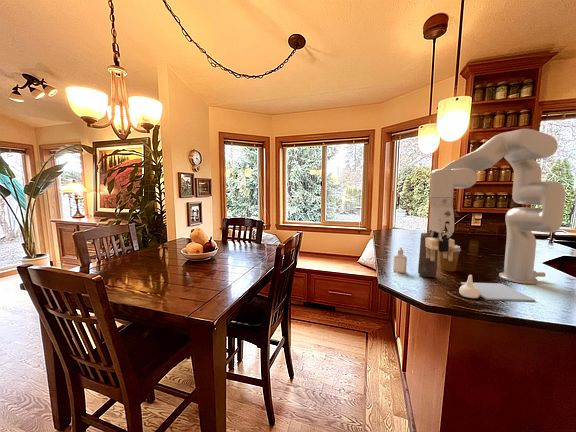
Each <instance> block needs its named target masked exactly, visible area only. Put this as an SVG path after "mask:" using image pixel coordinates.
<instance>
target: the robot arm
mask: <svg viewBox="0 0 576 432" xmlns="http://www.w3.org/2000/svg"><path fill="white" fill-rule="evenodd" d="M558 144H559V143H558V141H557V139H556V138H555V137H554V136H553V135H551V134H548V133H546V132H542V131H540V130H539V131H538V130H535V129H532V128H519V129H515V130H511V131H504V132H500V133H498V134H496V135H494V136H493V137H491V138H490V139H489V140H487V141H486V142H485V143H483V144H482V145H481V146H480V147H478V148H477V149H475V150H474V151H472V152H470V153H468V154H467V153H466V154H465V155H463V156H461V157H459V158H457V159H455V160H452V161H451V162H449V163H448V164H446V165H444V166H443V167H442V168H439V169H434V170H432V171H431V173H430V180H429V181H430V184H429V185H430V187H429V206H430V209H429V219H428V220H429V221H428V226H429V227H428V228H429V230H430V233H431V237H432V238H438V237H439V238H440V241H439V250H438V252H439V251H440V252H448V248H449V241H450V239H451V236H453V234H454V232H455V215H454V214H455V213H454V211H455V210H454V207H453V206H454V192H455V191H454V189H457V190H458V189H459V190H460V189H469V188H472V186H474V185H475V184H476V182H477V181H478V174H477V172H480V171H484V170H486V169H490V168H491V167H493V166H494V165H496V164H497V163H498V162H499V161H501V160H502V159H503V158H504V159H505V160H506V162H508V164H509V165H510V166H511V168H512V169H513V170H512V171H513V181H512V182H513V183H512V194H511V195H512V196H511V197H512V200H513V202H514V203H516V204H519V205H533V206H537V205H538V206H542V208H540V207H522V206H521V207H520V206H519V207H513V208H510V209H509V210H507V212H506V213H505V216H504V217H505V219H504V220H505V225H506V242H505V243H506V244H505V252H504V264H503V265H504V266H503V271H502V272H499V273H498V277H499V278H500V279H502V280H505V281H509V282H513V283H518V284H524V285H526V284H527V285H535V284H536V285H537V284H538V281H539V279H538V278H540V277H543V278H545V277H547V275H546V272H543V271H541V272H540V271H539V272H538V271H536V270H534V269H535V260H536V252H537V251H536V250H537V249H536V248H537V240H536V237H535V235H534V233H533V232H539V233H546V234H547V233H548V234H549V233H550V234H551V233H556V232H558V231H559V230H560V229H561V227H562V224H563V220H564V211H565V203H566V189H565V187H564V185H563V184H562V183H561V182H558V181H553V180H551V181H549V180H545V181H544V180H543V181H542V171H543V170H542V167H541V165H540V164H539V163H538V161H536V160H540V159H541V160H542V159H547V158H550V157H552V156H554V154H555V153H556V152H557V151H558Z"/></svg>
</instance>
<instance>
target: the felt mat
mask: <svg viewBox="0 0 576 432" xmlns="http://www.w3.org/2000/svg"><path fill="white" fill-rule="evenodd" d="M466 283H467V281H465V282H464V281H463V282H462V281H461V282H460V285H461V286H462V285H465V284H466ZM473 286H475V287H476V288H477V289H478V290H479V292H480V296H479V297H482V298H483V299H484V300H486V301H487V300H488V301H508V302H509V301H511V302H512V301H513V302H531V301H535V302H536V299H534V298H532V297H530V296H528V295H526V294H524V293H522V292H520V291H517V290H516V289H513V288H511V287H510V286H507V285H505V284H503V283H496V282H495V283H493V282H473Z"/></svg>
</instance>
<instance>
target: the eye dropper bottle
mask: <svg viewBox="0 0 576 432" xmlns="http://www.w3.org/2000/svg"><path fill="white" fill-rule="evenodd" d="M407 257H408V256H406V255H404V249H403V247H401V246H399V249H397V253H396V254H395V255H393V268H392V269H393V272H395V273H400V274H406V272H407V262H408V258H407Z"/></svg>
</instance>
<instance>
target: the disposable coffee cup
mask: <svg viewBox="0 0 576 432" xmlns="http://www.w3.org/2000/svg"><path fill="white" fill-rule="evenodd" d="M461 251H462V249H461V246H460V245H457V244H455V245H454V250H453V261H448V252H449V250H448V252H447V258H443V252H440V251H439V250H438V254H439V267H440V269H441V270H442V271H444V272H445V271H446V272H455V271H457V270H456V269H457V264H458V259H459V255H460V252H461Z"/></svg>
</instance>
